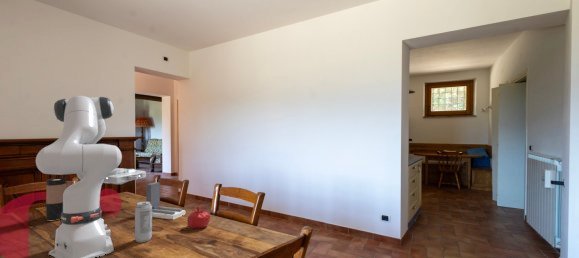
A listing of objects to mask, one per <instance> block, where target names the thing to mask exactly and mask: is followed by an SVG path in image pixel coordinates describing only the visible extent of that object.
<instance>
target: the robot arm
mask: <svg viewBox="0 0 579 258" xmlns="http://www.w3.org/2000/svg"><path fill="white" fill-rule="evenodd" d="M52 109H53V114H54V116H55V117H56V120H59V122H62V123H63V128H62V133H61V134H60V136H59V138H57V140H55V141H54V142H52V143H51V144H49V145H46V146H45V147H43V148H41V149H40V150H39V152H38V153H37V154H36V157H35V165H36V168H37V169H38V170H39V171H40V172H41V173H42V174H45V175H56V176H57V175H59V176H61V175H63V176H64V175H72V174H73V175H74V174H75V175H76V177H77V178H78V179H79V180H78V181H76V182H75V183H73V184H71V185H69V186H66V189H65V191H64V193H63V212H62V214H61V220H60V222H61V224H60V225H59V226H58V227H57V228H56V230H55V235H54V237H55V240H54V249H51V250H50V251H48V255H49V254H50V255H52V256H54V257H55V258H95V257H97V258H100V257H103V256H106V255H108V254H111V253H112V252H114V251H115V250H114V245H113V242H112V238H111V229H107V228H108V224H105V223H104V222H105V220H104V219H103V218H102V209H101V206H100V202H101V201H100V198H101V189H102V185H103V184H112V185H123V184H125V183H128V182H131V181H137V180H141V179H145V178H146V177H147V172H146V170H141V169H135V168H120V167H119V166H120V164H121V163H122V158H123V154H122V151H121V150H120V148H119V147H118V146H117V145H113V144H106V143H98V142H99V141H100V140H101V139H102V138H103V137H104V136H105V135H106V132H107V131H106V130H107V126H106V122H105V120H106V119H109V118H112V116H113V114H114V110H115V108H114V104H113V102H112V101H111V99H110V98H108V97H105V96H100V97H95V96H94V97H93V96H91V97H90V96H85V95H75V96H72V97H70V98H61V99H58V100H57V101H56V102H55V103H54V105H53V108H52ZM105 254H106V255H105ZM99 256H100V257H99Z"/></svg>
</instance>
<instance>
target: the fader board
mask: <svg viewBox="0 0 579 258" xmlns="http://www.w3.org/2000/svg"><path fill="white" fill-rule="evenodd" d="M158 206H159V209H158V210H157V209H152V218H156V219H157V218H158V219H165V220H175V219H178V218H180V217H183V216H184V215H186V210H184V209H182V208H178V207H177V208H176V207H167V206H166V207H165V206H161V205H158ZM182 215H183V216H182Z"/></svg>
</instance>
